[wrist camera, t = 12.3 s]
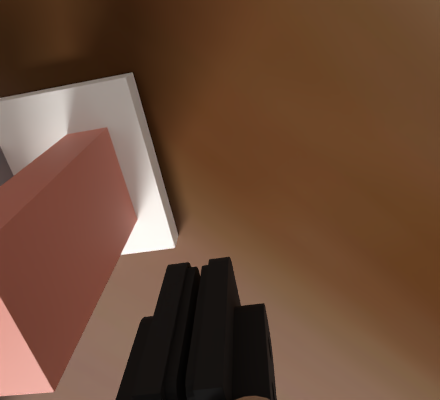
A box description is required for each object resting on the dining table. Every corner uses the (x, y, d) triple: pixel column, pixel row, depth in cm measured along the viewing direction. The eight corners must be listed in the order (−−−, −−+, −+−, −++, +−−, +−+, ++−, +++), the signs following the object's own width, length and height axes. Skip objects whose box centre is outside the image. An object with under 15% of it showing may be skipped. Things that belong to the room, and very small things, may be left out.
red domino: (107, 127, 18) (-25, 253, 9) (137, 219, 20) (54, 391, 12) (67, 134, 19) (-98, 262, 10) (101, 224, 21) (-7, 396, 12)
